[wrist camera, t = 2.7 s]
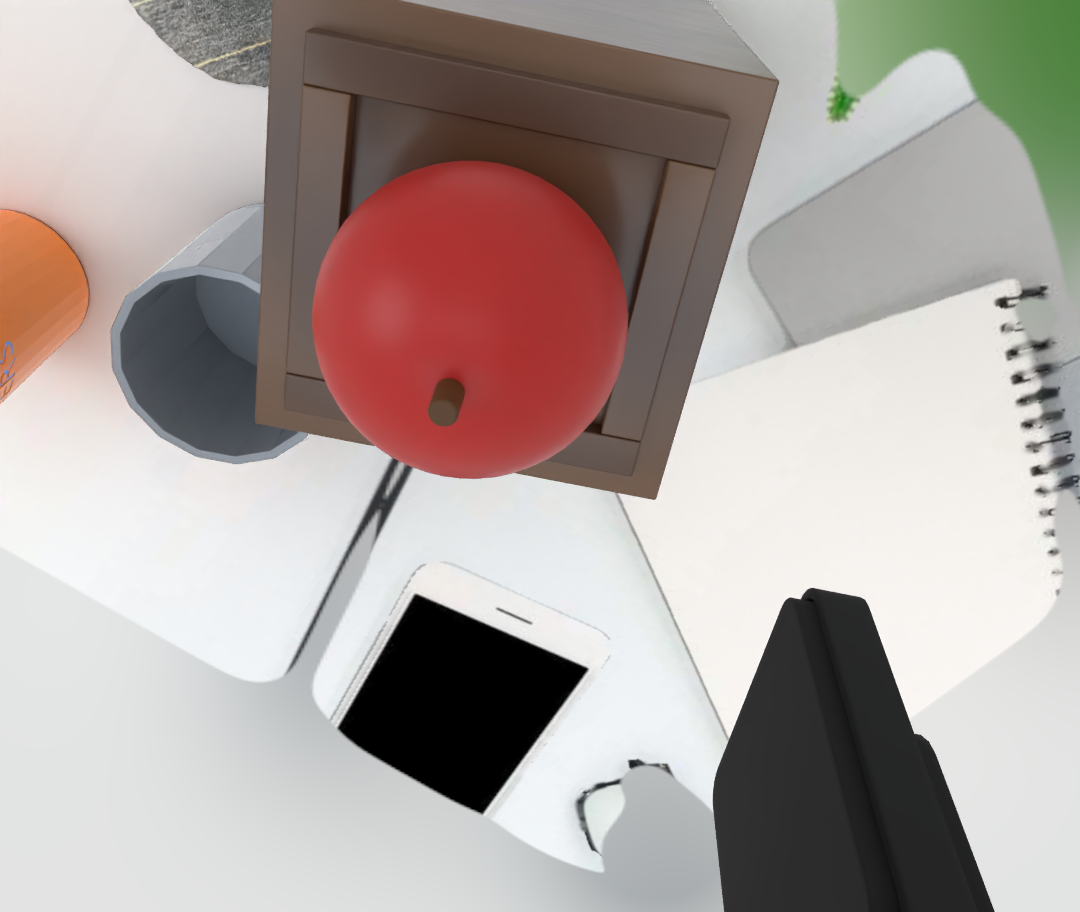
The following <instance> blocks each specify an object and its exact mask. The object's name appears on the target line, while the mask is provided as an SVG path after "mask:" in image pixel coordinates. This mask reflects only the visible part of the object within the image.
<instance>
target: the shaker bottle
mask: <svg viewBox="0 0 1080 912" xmlns="http://www.w3.org/2000/svg"><path fill="white" fill-rule="evenodd" d="M88 301H89V291H88V284H87V279H86V276H85V273H84V271H83V268H82V266H81V264H80V262H79V260H78V258H77V257H76V255H75V253H74V252H73V251H72V249H71V248H70V247H69V246H68V244H67V243H66V242H65V241H64V240H63V239H62V238H61V237H60V236H59V235H58V234H57V233H56V232H55V231H53V230H52V229H50V228H49V227H48V226H46V225H45V224H43V223H42V222H40V221H38V220H36V219H34V218H32V217H30V216H28V215H25V214H22V213H18V212H15V211H11V210H1V209H0V404H1V403H2V402H3V401H4V400H5V399H6V398H7V397H8V396H9V395H10V394H11V393H12V392H13V391H14V390H15V389H16V388H17V387H18V386H19V385H20V384H21V383H22V382H23V381H25V380H26V379H27V378H28V377H29V376H30V375H31V374H32V373H33V372H34V371H35V370H36V369H37V368H38V367H39V366H40V365H41V364H42V363H43V362H44V361H45V360H46V359H47V358H48V357H49V356H50V355H51V354H52V353H53V352H54V351H55V350H56V349H57V348H59V347H60V346H61V345H62V344H63V343H64V342H65V341H66V340H67V339H68V338H69V337H70V336H71V335H72V334H73V333H74V332H75V331H76V330H77V329H78V328H79V327H80V325H81V323H82V322H83V320H84V318H85V315H86V312H87V308H88Z"/></svg>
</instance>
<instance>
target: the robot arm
mask: <svg viewBox="0 0 1080 912" xmlns="http://www.w3.org/2000/svg"><path fill="white" fill-rule="evenodd" d="M713 810H714V820H715V829H716V839H717V848H718V857H719V867H720V876H721V886H722V895H723V904H724V912H994V909H993V906H992V904H991V901H990V898H989V896H988V893H987V890H986V888H985V885H984V882H983V879H982V877H981V874H980V872H979V869H978V866H977V863H976V861H975V858H974V856H973V853H972V850H971V848H970V845H969V842H968V839H967V837H966V834H965V832H964V829H963V826H962V823H961V821H960V818H959V815H958V813H957V810H956V807H955V805H954V802H953V800H952V797H951V794H950V791H949V789H948V786H947V784H946V781H945V778H944V775H943V773H942V770H941V767H940V765H939V762H938V759H937V757H936V754H935V752H934V750H933V748H932V747H931V745H930V743H929V741H927V740H926V739H925V738H924V737H923V736H921V735H918V734H914V732H913V729H912V726H911V723H910V721H909V718H908V715H907V712H906V709H905V707H904V704H903V701H902V698H901V696H900V693H899V690H898V687H897V684H896V682H895V679H894V676H893V673H892V670H891V668H890V665H889V662H888V659H887V656H886V654H885V651H884V648H883V645H882V642H881V640H880V637H879V634H878V631H877V628H876V626H875V623H874V620H873V617H872V614H871V612H870V609H869V606H868V604H867V602H866V601H865V600H864V599H863V598H861V597H856V596H851V595H846V594H841V593H836V592H830V591H825V590H820V589H815V588H810V589H808V590H807V591H806V592H805V593H804V594H803V596H802V598H801V600H800V599H795V598H788V599H787V600H786V601H785V602H784V604H783V606H782V608H781V610H780V613H779V615H778V618H777V620H776V623H775V625H774V628H773V630H772V633H771V635H770V638H769V641H768V643H767V646H766V648H765V651H764V653H763V656H762V658H761V661H760V663H759V666H758V668H757V671H756V673H755V676H754V678H753V681H752V683H751V686H750V688H749V691H748V694H747V696H746V699H745V701H744V704H743V706H742V709H741V711H740V714H739V716H738V719H737V721H736V724H735V726H734V729H733V731H732V734H731V736H730V739H729V742H728V744H727V747H726V749H725V752H724V754H723V757H722V759H721V762H720V764H719V767H718V770H717V773H716V777H715V781H714V788H713Z"/></svg>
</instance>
